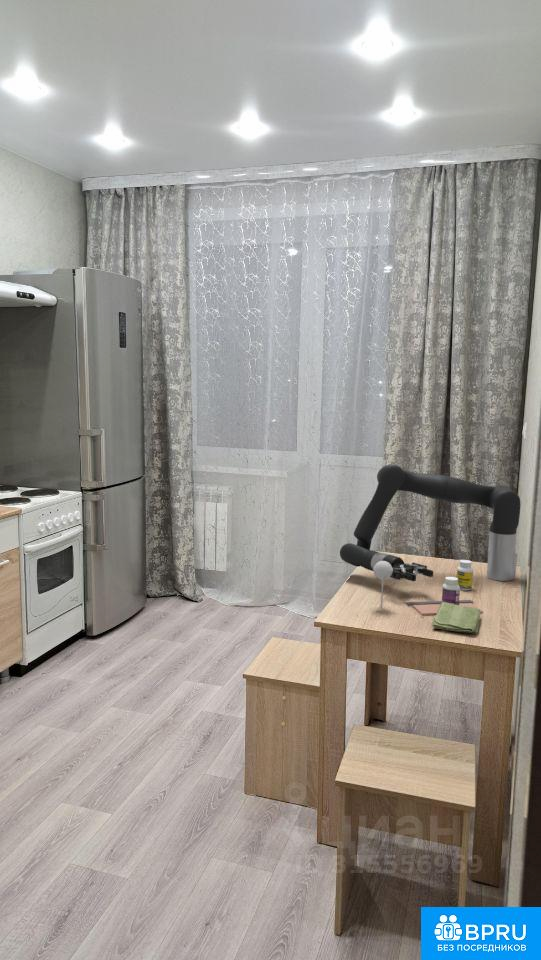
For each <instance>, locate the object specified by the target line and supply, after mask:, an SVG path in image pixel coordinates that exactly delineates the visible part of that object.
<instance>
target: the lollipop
mask: <svg viewBox="0 0 541 960" xmlns="http://www.w3.org/2000/svg"><path fill="white" fill-rule="evenodd" d="M372 572H373V574H374V576H375V577H376V578H378V579H379V580H381V591H380V592H381V594H380V595H381V596H380V607H381V608H383V600H384V599H383V596H384V595H383V594H384V580H387V579H389V578H390V576H391V575H392V572H393V568H392V566H391V565H390V564H389V563H388V562H386V561H380V562H378V563H376V565H375V566H374V568H373V571H372Z"/></svg>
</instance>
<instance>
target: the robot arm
mask: <svg viewBox="0 0 541 960" xmlns="http://www.w3.org/2000/svg"><path fill="white" fill-rule="evenodd" d="M376 480H377V486H376V490H375V492H374V494H373V496H372V498H371V500H370V502H369V503H368V505H367V507H366V508H365V509H364V511H363V513H362V514H361V517H360V519H359V521H358V523H357V525H356V527H355V529H354V531H353V536H354V537H355V539H356V540H357V542H356V544H355V543H350V542H349V543H345V544H343V545H342V546H341V548H340V550H339V557H340V559H341V560H342V561H343V562H345V563H347V564H349V565H352V566H354V567H357V568H358V567H361V568H364V569H366V570H368V571H370V572H374V571H373V568H374V566H375V565H376V563H378V562H380V561H386V562H388V563H389V564H390V565H391V566H392V568H393V572H392V575H391V576H390V577H389V578H391V579H394V580H397V581H400V580H408V581H411V582H416V581H417V576H418V575H422V576H425V577H428V578H433V577H434V570H433V569H430V568H429V569H428V566H427V565H424V564H421V563H417V562H412V563H408V562H406V563H405V561H404V560H403V558H401V557H400V556H395V555H393V554H389V553H385V552H380V551H376V550H371V545H372V540H373V538H374V536H375V533H376V532H377V530H378V528H379V525H380V523H381V521H382V519H383V517H384V514H385V512H386V511H387V508H388V507H389V505H390V503H391V502H392V500H393V498H394V496H395V495H396V493H397V492H398V491H402V492H410V493H414V494H417V495H420V496H422V497H426V498H430V499H433V500H436V501H437V500H438V501H441V502H446V503H453V504H474V505H479V506H481V507H482V506H483V507H485V508H486V507H487V508H489V509H492V510H493V517H492V522H491V523H490V524H489V525H490V526H489V536H488V537H489V539H488V549H487V550H488V551H487V565H486V566H487V568H486V578H488V579H490V580H494V581H500V582H501V581H502V582H508V581H512V580H516V576H517V575H516V574H517V562H518V561H517V560H518V554H517V553H516V541H517V531H518V530H517V529H518V527H519V524H520V518H521V498H520V496H519V495H518V493H517V492H516V491H514V490H512V489H510V488H508V487H502V486H490V485H482V484H478V483H474V482H472V481H469V480H465V479H462V478H457V477H454V476H450V475H449V476H448V475H443V474H435V473H418V472H414V471H410V470H406V469H403V468H402V467H401V466H399V465H397V464H387V465H384V466H383V467H381V468H380V469H379V470H378V472H377V474H376Z"/></svg>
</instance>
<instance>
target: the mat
mask: <svg viewBox="0 0 541 960" xmlns="http://www.w3.org/2000/svg"><path fill="white" fill-rule="evenodd" d="M441 603H442V600H435V601H434V600H432V601H431V600H430V601H427V600H426V601H406V605H407V606H408V607H412V608H413V609H414V610H415V611H417V613H419V614H420V615H421V616H436V615H437V612H438V610H439V607H440V605H441ZM459 606H467V607H473V608H478V609H480V607H478V606H477V605H475V604H474V601H473V600H471V599H463V600H462V599H461V600H460V599H459ZM483 613H484V611H483V610H482V609H480V614H483Z"/></svg>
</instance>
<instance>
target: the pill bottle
mask: <svg viewBox="0 0 541 960" xmlns="http://www.w3.org/2000/svg"><path fill="white" fill-rule="evenodd" d="M456 577H457V576H456ZM456 577H455V576H446V577H445V579H444V582H445V583H443V584H442V591H441V593H442V594H441V595H442V596H441V601H442V602H446V603H451V604H455V605H459V600H460V596H461V595H460V592H461V590H460V586H459V585H458V578H456Z"/></svg>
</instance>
